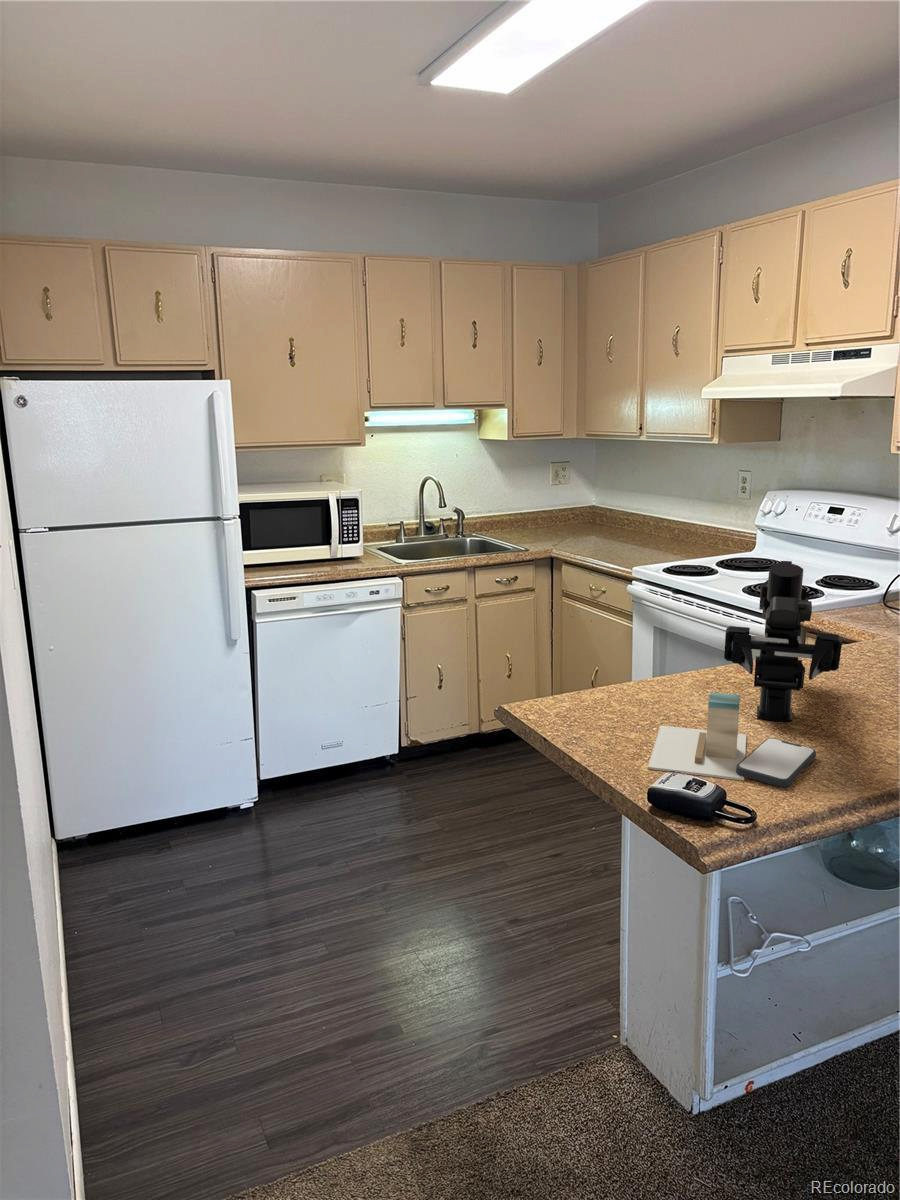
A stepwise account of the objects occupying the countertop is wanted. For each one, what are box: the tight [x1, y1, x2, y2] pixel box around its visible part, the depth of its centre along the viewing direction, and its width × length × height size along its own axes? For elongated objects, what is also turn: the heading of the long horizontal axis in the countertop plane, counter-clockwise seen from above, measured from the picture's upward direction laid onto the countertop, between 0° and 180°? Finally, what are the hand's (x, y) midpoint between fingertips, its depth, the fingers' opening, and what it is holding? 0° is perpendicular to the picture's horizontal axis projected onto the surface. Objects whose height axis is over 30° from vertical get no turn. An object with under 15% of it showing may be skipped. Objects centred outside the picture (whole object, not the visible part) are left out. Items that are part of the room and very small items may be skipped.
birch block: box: [706, 692, 741, 760], centre depth 150 cm, size 5×5×10 cm
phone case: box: [736, 737, 817, 788], centre depth 145 cm, size 9×2×16 cm
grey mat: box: [647, 725, 747, 782], centre depth 152 cm, size 20×16×1 cm
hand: (780, 674), depth 142 cm, fingers open, 9 cm apart
